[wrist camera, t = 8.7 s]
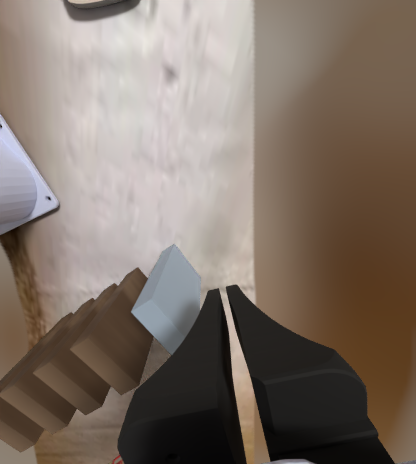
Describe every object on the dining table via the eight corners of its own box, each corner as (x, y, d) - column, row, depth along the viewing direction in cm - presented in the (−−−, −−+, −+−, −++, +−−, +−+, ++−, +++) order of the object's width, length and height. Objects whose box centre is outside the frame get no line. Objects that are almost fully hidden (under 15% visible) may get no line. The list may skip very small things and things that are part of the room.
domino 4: (154, 305, 24) (121, 395, 14) (126, 274, 22) (69, 349, 13) (165, 298, 23) (138, 385, 14) (137, 267, 22) (88, 337, 13)
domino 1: (90, 345, 25) (20, 452, 15) (61, 318, 24) (-35, 415, 14) (100, 339, 25) (35, 444, 15) (71, 312, 24) (-20, 406, 14)
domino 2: (111, 332, 25) (52, 434, 15) (82, 304, 23) (-2, 395, 14) (121, 326, 24) (67, 425, 15) (92, 297, 23) (14, 384, 13)
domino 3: (132, 319, 24) (85, 415, 14) (104, 289, 23) (32, 372, 13) (142, 313, 24) (102, 406, 14) (114, 282, 23) (49, 361, 13)
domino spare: (189, 284, 23) (179, 363, 13) (162, 251, 22) (130, 311, 12) (200, 277, 23) (198, 352, 13) (174, 243, 22) (151, 299, 12)
